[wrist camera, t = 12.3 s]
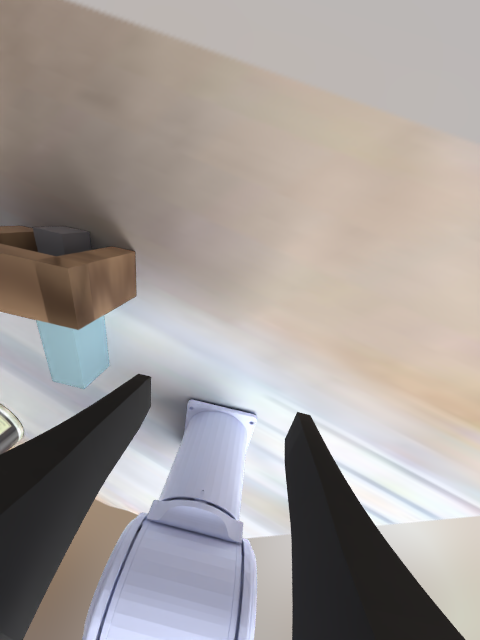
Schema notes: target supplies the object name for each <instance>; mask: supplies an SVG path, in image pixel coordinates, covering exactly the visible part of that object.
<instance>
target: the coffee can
mask: <svg viewBox="0 0 480 640" xmlns="http://www.w3.org/2000/svg"><path fill="white" fill-rule="evenodd" d="M23 435H24V430H23V427H22V425H21V423H20V421H19V420H18V419H17V418H16V417H15V416H14V415H13V414H12V413H11V412H10V411H9V410H8V409H6V408H5V407H4V406H2V405H1V404H0V454H2V453H5V452H6V451H8V450H9V449H10V448H11V447H12V446H13V445H14V444H15V443H17V442H18V441H20V440H21V439H22V437H23Z"/></svg>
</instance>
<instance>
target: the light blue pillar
mask: <svg viewBox="0 0 480 640" xmlns="http://www.w3.org/2000/svg"><path fill="white" fill-rule="evenodd" d="M32 228H33V232H34V237H35V241H36V245H37V250H38V252H39V253H43V254H48V255H52V256H61V255H67V254H72V253H78V252H84V251H89V250H92V249H91V241H90V233H89V232H88V231H83V230H79V229H75V228H70V227H66V226H53V227H32ZM36 322H37V325H38V329H39V333H40V336H41V340H42V344H43V347H44V351H45V355H46V358H47V362H48V366H49V369H50V373H51V377H52V380H53V381H54V382H58V383H62V384H66V385H70V386H74V387H78V388H82V389H85V388H86V387H87V386H88V385H89V384H90V383H91V382H92V381H94V380H95V379H96V378H97V377H98V376H99V375H100V374H101V373H102V372H103V371H104V370H105V369H107V368H108V367H109V356H108V347H107V338H106V328H105V319H104V315H103V316H102V317H100V318H98V319H97V320H95V321H93V322H91V323H90V324H88V325H86V326H85V327H83V328H81V329H80V330H76V329H72V328H68V327H63V326H59V325H55V324H51V323H46V322H42V321H38V320H36Z"/></svg>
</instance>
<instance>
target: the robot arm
mask: <svg viewBox="0 0 480 640" xmlns="http://www.w3.org/2000/svg"><path fill="white" fill-rule="evenodd" d="M150 407H151V377H149V376H145V375H141V374H138V375H136V376H134V377H133V378H131V379H130V380H129V381H127V382H126V383H124V384H123V385H121V386H120V387H118V388H117V389H115V390H114V391H112V392H111V393H109V394H108V395H106V396H105V397H103V398H102V399H100V400H99V401H97V402H96V403H94V404H93V405H91V406H89V407H88V408H86V409H84V410H83V411H81V412H79V413H78V414H76V415H74V416H73V417H71V418H69V419H68V420H66V421H64V422H63V423H61V424H59V425H57V426H56V427H54V428H52V429H50V430H48V431H46V432H45V433H43V434H41V435H39V436H37V437H35V438H33V439H31V440H29V441H27V442H25V443H23V444H21V445H19V446H17V447H15V448H13V449H11V450H9V451H7V452H5V453H2V454H0V640H23V638H24V636H25V634H26V632H27V630H28V628H29V625H30V624H31V622H32V619H33V618H34V615H35V613H36V611H37V609H38V607H39V605H40V603H41V601H42V599H43V597H44V595H45V593H46V591H47V589H48V587H49V585H50V583H51V581H52V579H53V577H54V575H55V573H56V571H57V569H58V567H59V565H60V563H61V561H62V559H63V557H64V555H65V553H66V552H67V550H68V548H69V546H70V544H71V542H72V540H73V538H74V536H75V534H76V532H77V531H78V529H79V527H80V525H81V523H82V521H83V519H84V517H85V516H86V514H87V512H88V510H89V508H90V506H91V505H92V503H93V501H94V499H95V498H96V496H97V494H98V492H99V490H100V488H101V487H102V485H103V484H104V482H105V480H106V479H107V477H108V475H109V474H110V472H111V471H112V469H113V468H114V466H115V465H116V463H117V462H118V460H119V459H120V457H121V456H122V454H123V453H124V451H125V450H126V448H127V447H128V445H129V444H130V442H131V440H132V439H133V437H134V436H135V434H136V433H137V431H138V430H139V428H140V426H141V424H142V422H143V421H144V419H145V417H146V415H147V413H148V411H149V409H150ZM251 421H252V422H251ZM256 422H257V416H256V415H254V414H250V413H246V412H242V411H238V410H234V409H229V408H225V407H221V406H217V405H213V404H209V403H205V402H201V401H196V400H189V402H188V405H187V413H186V422H185V431H184V437H183V439H182V442H181V444H180V447H179V450H178V452H177V455H176V457H175V460H174V462H173V465H172V467H171V470H170V473H169V475H168V478H167V480H166V483H165V485H164V488H163V490H162V493H161V496H160V498H159V500H154V501H153V503H152V506H151V508H150V511H149V513H148V514H147V513H140V514H139V515H138V516H137V517H136V518H135V519H133V520H132V521H131V522H130V523H129V524H128V525H127V526H126V528H125V529H124V531H123V533H122V534H121V536H120V538H119V540H118V542H117V544H116V545H115V547H114V549H113V551H112V553H111V555H110V558H109V560H108V562H107V564H106V567H105V569H104V571H103V573H102V576H101V578H100V581H99V583H98V586H97V588H96V591H95V593H94V596H93V599H92V602H91V605H90V608H89V611H88V614H87V618H86V622H85V627H84V635H83V638H82V640H253V639H254V631H255V620H256V619H255V618H256V604H257V565H256V557H255V554H254V551H253V549H252V547H251V544H250V542H249V540H248V539H244V538H242V533H243V522H240V521H239V517H240V507H241V497H242V487H243V476H244V466H245V456H246V451H247V448H248V445H249V442H250V439H251V436H252V433H253V430H254V428H255V425H256ZM285 471H286V482H287V492H288V502H289V512H290V522H291V537H292V587H293V588H292V590H293V591H292V593H293V626H292V628H293V629H292V630H293V632H292V636H293V637H292V640H465V639H464V637H463V636H462V635H461V634H460V633H459V632H458V631H457V629H456V628H455V627H454V626H453V625H452V623H451V622H450V621H449V620H448V619H447V617H446V616H445V615H444V614H443V613H442V611H441V610H440V609H439V608H438V606H437V605H436V604H435V603H434V602H433V600H432V599H431V598H430V597H429V595H427V593H426V592H425V591H424V589H423V588H422V587H421V586H420V584H419V583H418V582H417V580H416V579H415V578H414V577H413V575H412V574H411V573H410V571H409V570H408V569H407V568H406V566H405V565H404V564H403V562H402V561H401V560H400V558H399V557H398V556H397V554H396V553H395V552H394V551H393V549H392V548H391V547H390V545H389V544H388V543H387V541H386V540H385V539H384V537H383V536H382V534H381V533H380V531H379V530H378V529H377V527H376V526H375V524H374V523H373V521H372V520H371V519H370V517H369V516H368V514H367V513H366V511H365V510H364V508H363V507H362V505H361V504H360V502H359V501H358V499H357V497H356V496H355V494H354V493H353V491H352V489H351V488H350V486H349V485H348V483H347V481H346V480H345V478H344V476H343V475H342V473H341V471H340V469H339V468H338V466H337V464H336V462H335V461H334V459H333V457H332V455H331V454H330V452H329V450H328V448H327V446H326V444H325V443H324V441H323V439H322V437H321V435H320V433H319V431H318V429H317V427H316V425H315V423H314V421H313V419H312V418H311V416H310V415H307V414H303V413H299V412H297V414H296V416H295V419H294V421H293V423H292V425H291V427H290V429H289V432H288V434H287V436H286V438H285Z"/></svg>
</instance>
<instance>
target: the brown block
mask: <svg viewBox="0 0 480 640" xmlns="http://www.w3.org/2000/svg"><path fill="white" fill-rule="evenodd" d="M134 297H136V262H135V251H130V250H126V249H121V248H117V247H113V246H112V247H106V248H100V249H95V250H89V251H84V252H78V253H72V254H67V255H61V256H52V255H48V254H43V253H39V252H38V250H37V245H36V241H35V237H34V232H33V228H29V227H24V226H0V312H4V313H9V314H13V315H17V316H21V317H25V318H30V319H34V320H38V321H42V322H46V323H51V324H55V325H59V326H63V327H68V328H72V329H76V330H80V329H81V328H83V327H85V326H86V325H88V324H90V323H91V322H93V321H95V320H97V319H98V318H100V317H102V316H103V315H105V314H107V313H108V312H110V311H112V310H114V309H115V308H117V307H119V306H120V305H122V304H124V303H126V302H127V301H129V300H131V299H132V298H134Z"/></svg>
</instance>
